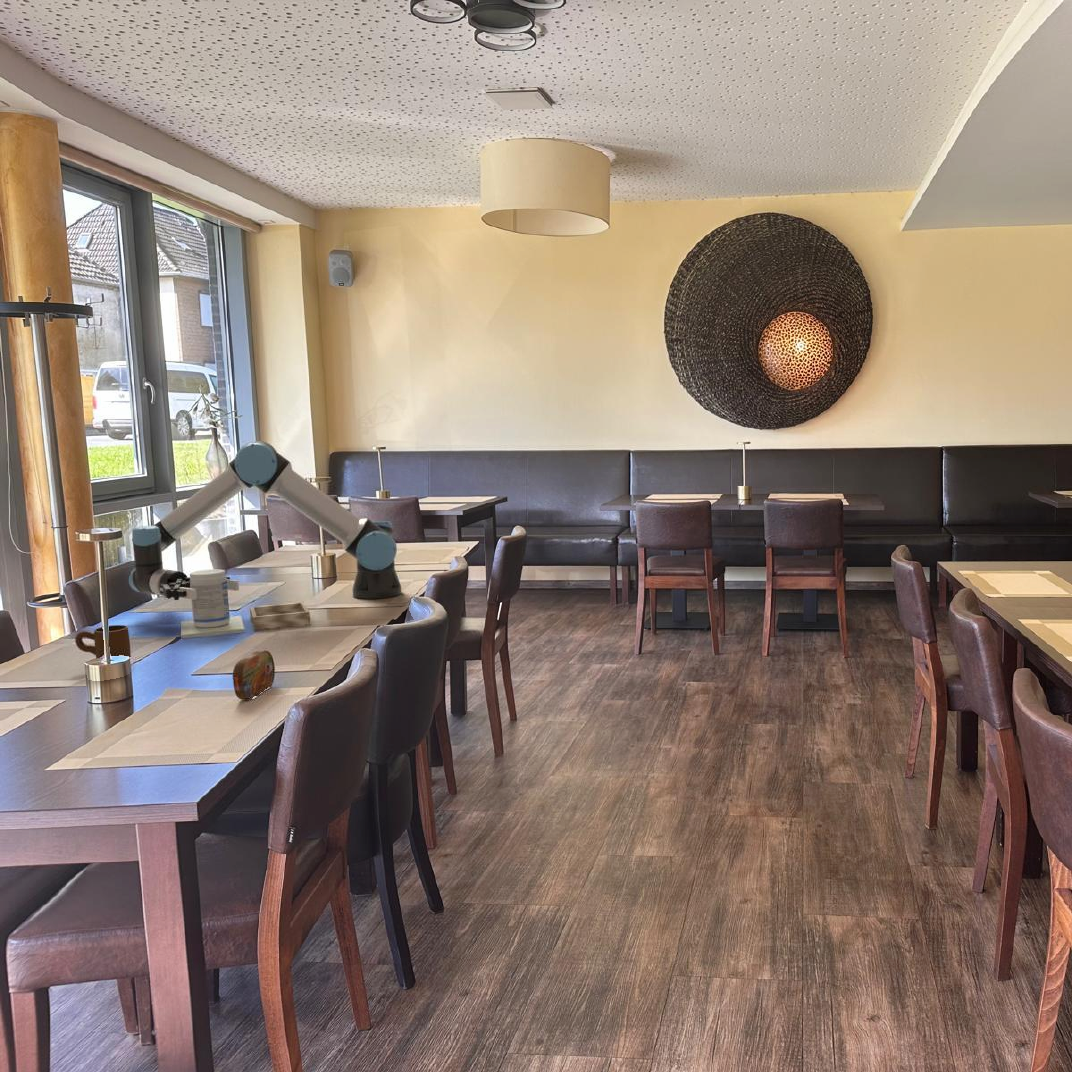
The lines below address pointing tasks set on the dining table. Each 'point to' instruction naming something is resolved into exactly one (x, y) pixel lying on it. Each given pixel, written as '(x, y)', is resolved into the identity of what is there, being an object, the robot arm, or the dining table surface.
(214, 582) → the supplement tub
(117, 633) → the mug
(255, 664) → the tin
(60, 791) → the dining table surface
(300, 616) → the holder frame
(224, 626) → the board
